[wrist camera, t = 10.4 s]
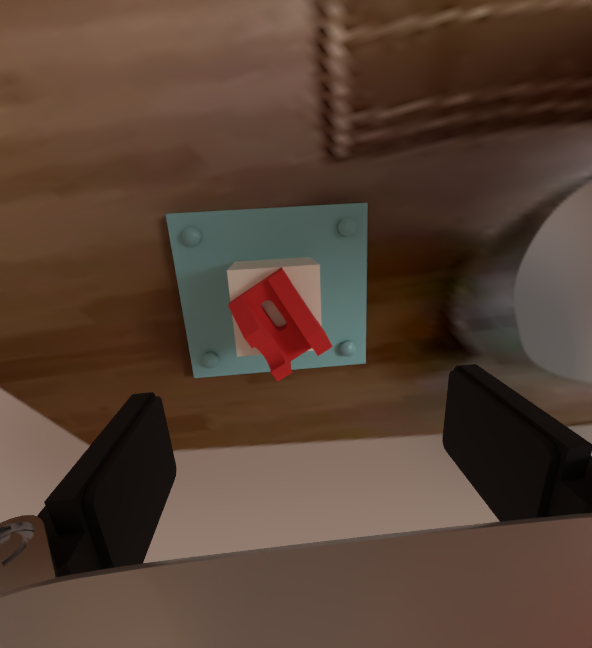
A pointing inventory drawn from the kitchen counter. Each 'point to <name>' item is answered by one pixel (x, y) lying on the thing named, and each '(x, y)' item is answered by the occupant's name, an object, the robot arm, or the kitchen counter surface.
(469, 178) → the kitchen counter surface
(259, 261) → the base block
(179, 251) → the baseplate
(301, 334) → the bracket
